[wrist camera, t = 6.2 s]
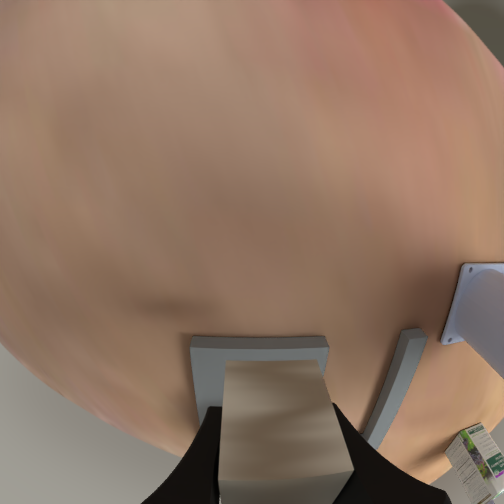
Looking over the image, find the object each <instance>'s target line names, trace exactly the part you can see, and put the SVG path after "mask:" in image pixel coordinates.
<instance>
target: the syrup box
mask: <svg viewBox="0 0 504 504" xmlns="http://www.w3.org/2000/svg"><path fill="white" fill-rule="evenodd" d="M445 453H446V455H447V457H448V459H449V461H450V463H451V464H452V466H453V468H454V470H455V472H456V474H457V476H458V478H459V480H460V481H461V483H462V485H463V487H464V489H465V491H466V493H467V495H468V497H469V499H470V501H471V503H472V504H486V503H488V502H489V501H491V500H494V499H495V498H497V497H498V496H499V495H501V494H502V493H503V492H504V456H503V454H502V452H501V451H500V449H499V448H498V446H497V445H496V443H495V442H494V440H493V439H492V437H491V436H490V435H489V433H488V432H487V430H486V429H485V427H484V426H483V424H482V423H479V424H477V425H475V426H473V427H470V428H468V429H465V430H462V431H460V432H459V434H458V435H457V436H456V438H455V439H454V440H453V442H452V443H451V444H450V446H449V447H448V448H447V449H446V451H445Z"/></svg>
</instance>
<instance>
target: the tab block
mask: <svg viewBox="0 0 504 504" xmlns="http://www.w3.org/2000/svg"><path fill="white" fill-rule="evenodd" d="M353 471H354V468H353V465H352V462H351V458H350V455H349V452H348V449H347V446H346V443H345V440H344V437H343V434H342V431H341V428H340V425H339V422H338V419H337V416H336V413H335V410H334V407H333V405H332V402H331V399H330V396H329V393H328V390H327V387H326V384H325V381H324V379H323V376H322V373H321V370H320V367H319V364H318V361H317V359H313V360H287V361H232V360H226V366H225V379H224V393H223V408H222V423H221V439H220V456H219V474H218V482H219V490H220V497H221V503H222V504H332V503H333V502H334V500H335V499H336V497H337V496H338V494H339V493H340V491H341V490H342V488H343V487H344V485H345V484H346V482H347V481H348V479H349V478H350V476H351V474H352V473H353Z"/></svg>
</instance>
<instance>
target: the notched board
mask: <svg viewBox="0 0 504 504" xmlns="http://www.w3.org/2000/svg"><path fill="white" fill-rule="evenodd" d="M427 338H428V336H427V335H426V334H425V333H424V332H423V331H422V330H421V329H420V328H415V329H407V330H402V331H401V334H400V337H399V341H398V344H397V347H396V350H395V354H394V357H393V360H392V363H391V366H390V368H389V371H388V374H387V377H386V380H385V382H384V385H383V388H382V390H381V393H380V395H379V398H378V400H377V403H376V405H375V408H374V410H373V412H372V415H371V417H370V419H369V422H368V424H367V426H366V428H365V430H364V433H363V434H360V435H361V436H362V437H363V438H364V439H365V440H366V441H367V442H368V443H369V444H370V445H371V446H372V447H373V448H374V449H375V450H376V449H378V447H379V446H380V444H381V442H382V440H383V439H384V437H385V435H386V433H387V431H388V429H389V427H390V425H391V424H392V422H393V420H394V418H395V416H396V414H397V412H398V409H399V407H400V405H401V403H402V401H403V399H404V397H405V394H406V392H407V390H408V388H409V385H410V383H411V381H412V378H413V376H414V373H415V371H416V368H417V366H418V363H419V361H420V358H421V355H422V353H423V350H424V347H425V344H426V341H427ZM328 352H329V345H328V343H327V340H326V338H325V336H317V337H283V338H238V337H204V336H193V337H192V340H191V344H190V356H191V365H192V373H193V381H194V389H195V396H196V403H197V410H198V417H199V423H200V427H201V424H202V422H203V420H204V417H205V415H206V412H207V408H208V407H209V406H221V407H223V393H224V379H225V366H226V360H232V361H287V360H313V359H317V361H318V364H319V367H320V370H321V373H322V376H324V371H325V367H326V362H327V357H328Z"/></svg>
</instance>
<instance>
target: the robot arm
mask: <svg viewBox="0 0 504 504" xmlns="http://www.w3.org/2000/svg"><path fill="white" fill-rule="evenodd" d="M469 269H470V270H469ZM461 341H466V342H467V343H468V344H469V345H470V346H471V347H472V348H473V349H474V350H475V351H476V352H477V353H478V354H480V355H481V356H482V357H483V358H484V359H485V360H486V362H487V363H488V364H489V365H490V366H491V367H492V368H493V369H494V370H495V371H496V372H497V373H498V374H499V375H500V376H501V377H502V378H503V379H504V263H465V264H464V265H463V266H462V268H461V272H460V276H459V280H458V284H457V288H456V292H455V296H454V299H453V303H452V306H451V310H450V313H449V316H448V320H447V323H446V326H445V329H444V332H443V335H442V337H441V341H440V342H441V343H442V344H443V345H447V344H452V343H456V342H461ZM332 405H333V407H334V410H335V413H336V416H337V419H338V422H339V425H340V428H341V431H342V434H343V437H344V440H345V443H346V446H347V449H348V452H349V455H350V458H351V462H352V465H353V468H354V471H353V473H352V474H351V476H350V478H349V479H348V481H347V482H346V484H345V485H344V487H343V488H342V490H341V491H340V493H339V494H338V496H337V497H336V499H335V500H334V502H333V503H332V504H452V503H451V501H450V498H449V497H448V495H447V493H446V492H445V491H444V490H441V489H438V488H435V487H433V486H430V485H428V484H425V483H423V482H421V481H419V480H417V479H415V478H414V477H412V476H410V475H409V474H407V473H405V472H404V471H402V470H400V469H399V468H397V467H396V466H395V465H393V464H392V463H390V462H389V461H388V460H387V459H385V458H384V457H383V456H382V455H381V454H379V453H378V452H377V451H376V450H375V449H374V448H373V447H372V446H371V445H370V444H369V443H368V442H367V441H366V440H365V439H364V438H363V437H362V436H361V435H360V433H359V432H358V431H357V430H356V429H355V428H354V427H353V425H352V424H351V423H350V422H349V421H348V419H347V418H346V417H345V416H344V414H343V413H342V412H341V410H340V409H339V408H338V406H337V405H336V404H335V403H332ZM222 408H223V407H221V406H209V407H208V408H207V412H206V415H205V417H204V420H203V422H202V424H201V427H200V429H199V431H198V433H197V435H196V437H195V438H194V440H193V442H192V444H191V446H190V447H189V449H188V450H187V452H186V453H185V455H184V457H183V458H182V460H181V461H180V463H179V464H178V465H177V467H176V468H175V469H174V470H173V472H172V473H171V474H170V475H169V477H168V478H167V479H166V480H165V481H164V482H163V483H162V484H161V485H160V487H158V488H157V490H156V491H154V493H152V494H151V495H150V496H149V497H148V498H147V499H145V500H144V501H143V502H142V503H141V504H219V498H220V490H219V482H218V474H219V456H220V439H221V423H222ZM486 504H495V503H494V502H493V500H491V501H489V502H488V503H486Z"/></svg>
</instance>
